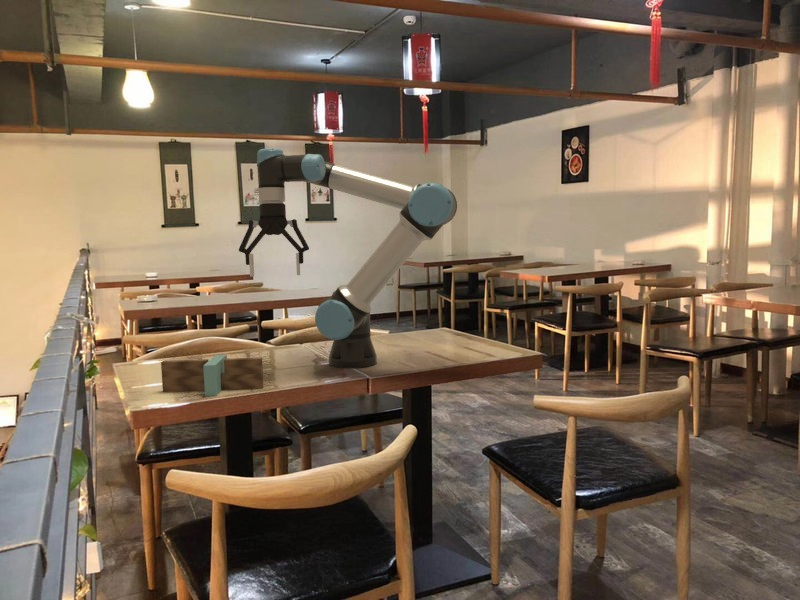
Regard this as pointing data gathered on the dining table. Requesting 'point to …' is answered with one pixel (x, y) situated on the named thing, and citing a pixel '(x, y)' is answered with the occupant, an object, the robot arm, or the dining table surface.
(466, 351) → the dining table surface
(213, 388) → the teal green block
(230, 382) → the walnut board
